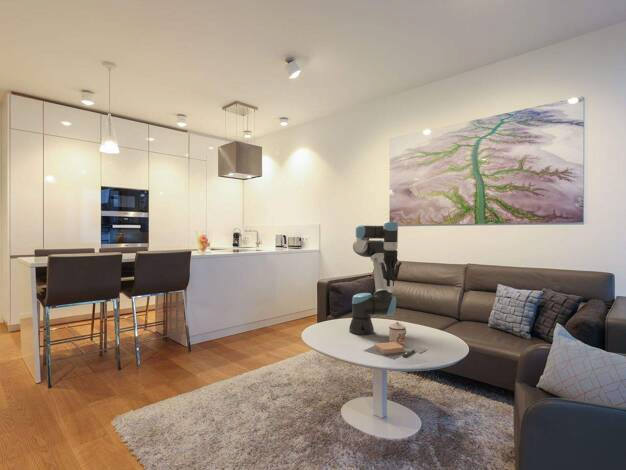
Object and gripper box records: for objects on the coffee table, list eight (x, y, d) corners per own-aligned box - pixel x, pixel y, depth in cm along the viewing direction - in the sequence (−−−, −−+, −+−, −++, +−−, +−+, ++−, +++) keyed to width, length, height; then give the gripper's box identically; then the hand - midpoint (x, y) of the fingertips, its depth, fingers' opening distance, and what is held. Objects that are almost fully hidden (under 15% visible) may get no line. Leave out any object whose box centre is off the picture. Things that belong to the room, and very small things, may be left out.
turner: (410, 360, 168) (410, 356, 168) (398, 356, 172) (398, 353, 172) (427, 349, 183) (427, 346, 183) (416, 347, 187) (416, 343, 187)
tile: (383, 349, 173) (404, 347, 177) (374, 343, 182) (394, 341, 185) (383, 354, 173) (404, 352, 177) (374, 348, 182) (394, 346, 185)
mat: (363, 351, 179) (363, 350, 179) (379, 344, 191) (379, 343, 191) (394, 360, 167) (394, 359, 167) (409, 352, 179) (409, 351, 179)
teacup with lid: (398, 346, 188) (398, 324, 187) (385, 342, 195) (385, 321, 195) (412, 342, 195) (412, 321, 195) (399, 338, 202) (399, 318, 202)
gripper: (383, 250, 187) (383, 293, 187) (404, 250, 191) (404, 292, 191) (376, 249, 194) (376, 291, 194) (397, 249, 198) (396, 290, 198)
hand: (390, 292), depth 193 cm, fingers closed
